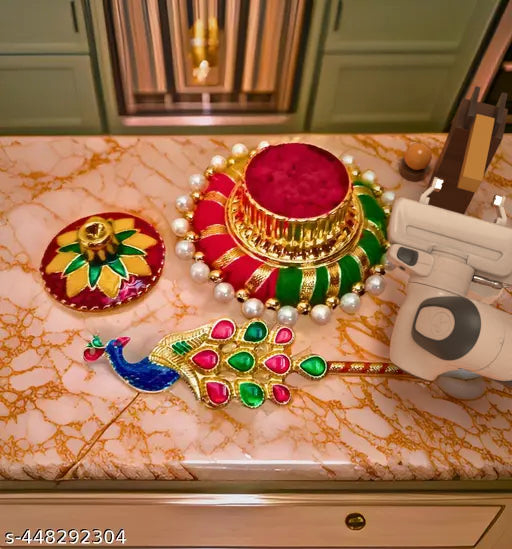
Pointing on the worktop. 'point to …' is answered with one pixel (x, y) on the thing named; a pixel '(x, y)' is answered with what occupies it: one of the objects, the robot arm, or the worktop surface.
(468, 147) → the pull rod
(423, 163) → the night lamp
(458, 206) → the switch pillar
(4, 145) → the worktop surface
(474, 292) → the cup
